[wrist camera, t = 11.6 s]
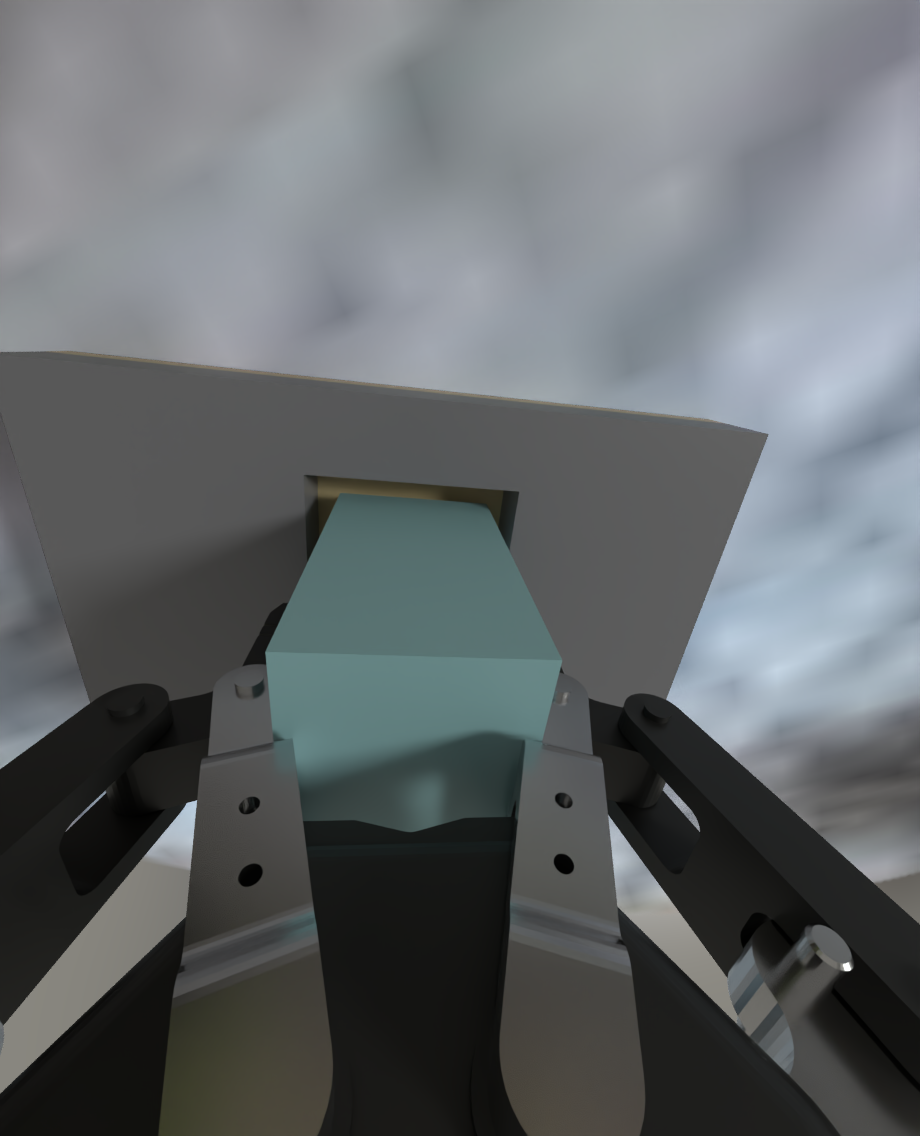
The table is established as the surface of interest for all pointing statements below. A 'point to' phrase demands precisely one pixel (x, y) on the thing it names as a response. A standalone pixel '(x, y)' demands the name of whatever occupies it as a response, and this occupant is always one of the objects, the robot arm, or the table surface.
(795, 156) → the table surface
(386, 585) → the plug
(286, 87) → the table surface
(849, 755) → the table surface
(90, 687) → the block
